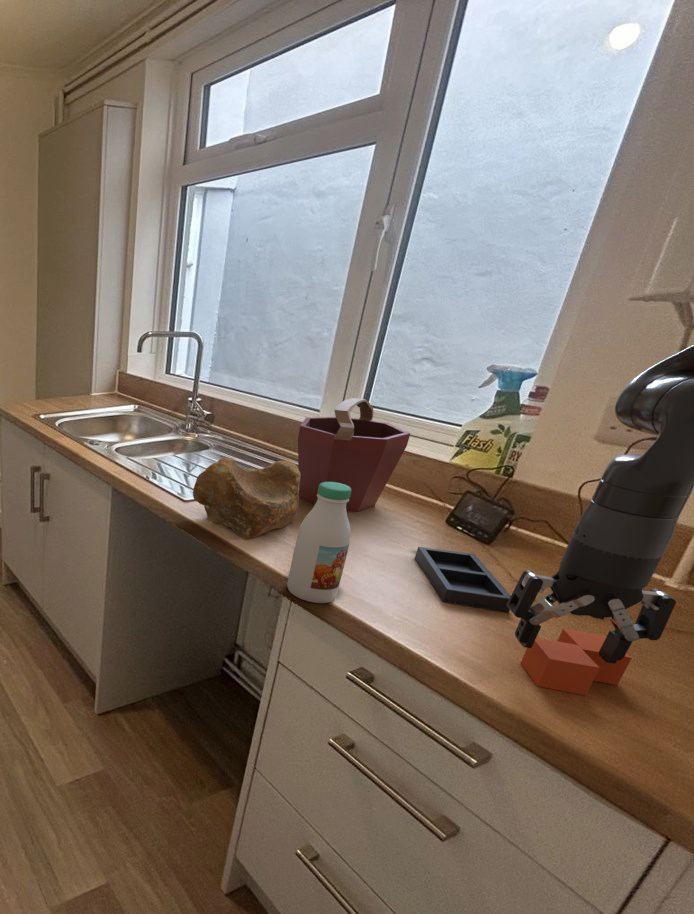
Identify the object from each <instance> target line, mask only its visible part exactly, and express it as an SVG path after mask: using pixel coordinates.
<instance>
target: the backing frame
mask: <svg viewBox="0 0 694 914" xmlns="http://www.w3.org/2000/svg"><path fill="white" fill-rule="evenodd" d="M414 559H415V561H416V562H417V563H418V565H419V567H420V569H421V570H422V572H423V573H424V574H425V576H426V578H427V579H428V580H429V583H430V584H431V585H432V587H433V588H434V590H435V592H436V594H437V595H438V597H439V598H440V600H441V602H443V603H449V604H454V605H459V606H460V605H461V606H465V607H471V608H479V609H485V610H490V611H491V610H492V611H497V612H502V613H503V612H504V613H510V612H511V610H510V609H509V608H508V607H507V603H508V601H509V599H510V597H511V595H512V594H510V593H509V592H508V591H507V590H506V588H505V587H504V586H503V585H502V583H501V582H500V581H499V580H498V579H497V578H496V577H495V576H494V575H493V574H492V572H491V571H490V570H489V569H488V568H487V567H486V565H485V564H484V563H483V562H482V561H481V560H480V558H479V557H478V556H477V555H476V554H475V553H470V552H469V553H468V552H461V551H455V550H454V551H453V550H446V549H439V548H431V547H424V546H418V547H417V550H416V553H415V556H414Z"/></svg>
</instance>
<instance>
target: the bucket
mask: <svg viewBox="0 0 694 914" xmlns="http://www.w3.org/2000/svg"><path fill="white" fill-rule="evenodd" d="M356 406H357V407H358V408H359V418H356V417H351V411H352V410H353V409H354V408H355V407H356ZM373 418H374V407H373V405H371V403H370V402H369V400H367V399H366V398H357V397H351V398H347V399H344V400H343V401H342V402H340V403H339V404H337V405H336V406H335V408H334V416H318V417H317V416H313V417H305V419H303V421H302V422H301V424H300V425H299V431H298V435H297V460H298V461H297V464H298V465H297V467H298V469H299V471H300V475H301V477H300V485H299V499H302V500H304V501H306V502H309V503H311V504H313V505H315V504H316V502H317V500H318V497H317V494H318V487H319V485H320V483H323V482H336V483H341V484H345V485H347V486H349V487H350V488H351V495H350V497H349V501H348V502H347V503H346V511H349V512H355V513H356V512H361V511H363V510H366V509H369V508H372V507H374V506H376V504H377V502H378V500H379V498H380V496H381V495H382V493H383V491H384V489H385V487H386V485H387V484H388V483H389V480H390V478H391V476H392V474H393V473H394V471H395V468H396V467H397V465H398V464H399V461H400V460H401V458H402V456H403V454H404V452H405V450H406V448H407V446H408V443H409V440H410V437H411V432H408V431H407V430H406V429H405V430H404V429H403V428H401V427H398V426H396V425H393V424H391V423H389V422H385V421H376V420H373Z"/></svg>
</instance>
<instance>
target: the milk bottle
mask: <svg viewBox="0 0 694 914" xmlns="http://www.w3.org/2000/svg"><path fill="white" fill-rule="evenodd" d="M350 495H351V488H350V487H349V486H347V485H345V484H341V483H336V482H323V483H320V485H319V487H318V494H317V497H318V500H317V502H316V504H314V506H313V507H312V509H311V510H310V511H309V512H308V514H306V516H304V519H303V520H302V522H301V524H300V526H299V528H298V532H297V536H296V540H295V545H294V550H293V554H292V559H291V563H290V568H289V573H288V578H287V583H286V587H287V589H288V591H289V593H290V594H292V595H293V597H294V596H295V597H296V598H298V599H300V600H303V601H305V602H310V603H314V604H327V603H331V602H333V601H334V600H335V599H336V597H337V595H338V591H339V588H340V583H341V579H342V576H343V572H344V568H345V563H346V561H347V556H348V553H349V548H350V542H351V535H352V534H351V532H352V531H351V524H350V521H349V518H348V514H347V510H346V503H347V502H348V501H349V497H350Z"/></svg>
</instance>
